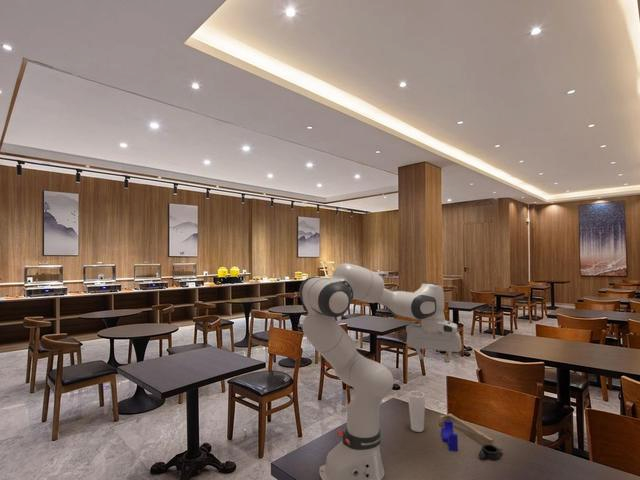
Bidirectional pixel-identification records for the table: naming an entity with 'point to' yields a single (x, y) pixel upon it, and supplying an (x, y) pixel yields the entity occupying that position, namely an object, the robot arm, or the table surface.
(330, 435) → the table surface
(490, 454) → the black winged round fixture
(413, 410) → the drinking glass
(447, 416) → the bar
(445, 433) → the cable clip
